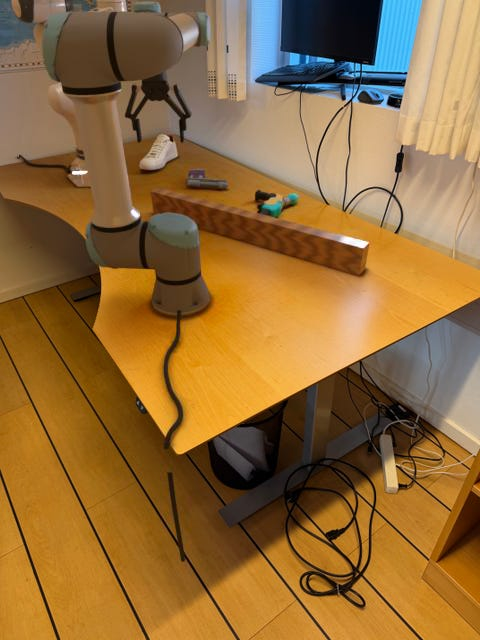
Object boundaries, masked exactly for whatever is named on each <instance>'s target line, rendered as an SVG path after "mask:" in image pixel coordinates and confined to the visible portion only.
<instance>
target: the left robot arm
mask: <svg viewBox="0 0 480 640" xmlns="http://www.w3.org/2000/svg"><path fill="white" fill-rule="evenodd" d="M95 1H96V7H94V8H92V9H90V10H88V11H87V12H120V11H126V12H128V7H127V0H95ZM10 3H11V7H12V8H11V9H12V11H13V13H14V15H15V17H16V18H17V19H18V20H19V22H22V23H26V24H32V23H36V24H35V25H34V27H33V32H32V33H33V37H34V40H35V43H36V46H37V48H38V49H39V53H40V54H41V56H42V57H43V53H42V37H43V31H44V27H45V24H46V22H47V20H48V18H49V17H50V16H51V15H53V14H56V13H63V12H71V11H75V7H74V1H73V0H10ZM46 99H47V102H48V105H49V106H50V108H51V109H52V110H53V111H54V112H55V113H57V114H59V115H60V116H62V117H63V118H64V119H65V120H66V121H67V122H68V124H69V126H70V127H71V130H72V133H73V136H74V140H75V144H76V147H75V156H76V157H75V158H74V159H73V161H72V162H71V163H70V164H69V165H68V166H67V165H64V164H47V163H46V164H45V163H44V164H43V163H33V162H30V161H29V160H28V159H26V158H25V157H24V156H23V155H22V154H18V155H19V157H18V155H17V157H16V158H17V159H20V158H21V160H23V161H24V162H25V163H26V164H27V165H29V166H32V167H47V168H64V169H65V171H66V172H67V173H68V175H67V178H68V179H69V180H70V182H72V183H73V184H74V185H75V186H76V187H78V188H84V187H88V188H91V186H90V181H89V177H88V172H87V167H86V162H85V157H84V153H83V148H82V143H81V138H80V133H79V128H78V124H77V119H76V114H75V109H74V104H73V102H72V100H71V99H69V98H68V97H67V96H66V95H64V94H63V90H62V85H61V82H57V83H53V84H51V85H49V87H48V89H47V92H46Z"/></svg>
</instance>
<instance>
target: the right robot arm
mask: <svg viewBox="0 0 480 640" xmlns="http://www.w3.org/2000/svg"><path fill="white" fill-rule="evenodd" d="M210 19H211V18H210V16H209V14H208V13H207V12H201V11H200V12H199V11H189V12H188V11H187V12H186V11H183V12H181V11H180V12H179V11H178V12H162V9H161V4H160V3H159V2H158V1H135V2H133V4H132V11H127V12H126V11H120V12H88V11H75V10H74V11H71V12H63V13H56V14H53V15H51V16H50V17H49V18H48V20H47V22H46V24H45V27H44V31H43V37H42V53H43V56H42V59H43V64H44V68H45V70H46V72H47V73H48V76H49V78H50V79H51V80H52V81H55V82H57V83H59V82H61V85H62V90H63V94H64V95H66V96H67V97H68V98H69V99H71V100H72V102H73V104H74V109H75V114H76V119H77V124H78V128H79V133H80V138H81V143H82V148H83V153H84V157H85V162H86V167H87V172H88V177H89V181H90V186H91V187H90V191H91V196H92V201H93V205H94V212H93V213H92V214H91V215H90V221H89V222H88V223H87V224H86V227H85V232H84V234H85V240H84V241H85V246H86V250H87V253H88V255H89V257H90V259H91V261H92V262H93V263H94V264H95V265H97V266H99V267H100V268H109V269H112V270H118V269H126V270H127V269H128V270H129V269H130V270H132V269H133V270H154V274H155V275H154V276H155V281H154V284H153V290H152V294H151V305H152V308H153V310H154V311H155V312H156V313H157V314H159V315H160V316H163V317H167V318H171V319H176V325H175V326H176V332H175V337H174V340H173V342H172V343H171V346H169V348H168V350H167V351H166V354H165V356H164V360H163V377H164V382H165V386H166V390H167V391H168V394H169V395H170V398H171V399H172V400H173V402H174V404H175V407H176V408H177V418H176V420H175V422H174V423H173V424H172V425H171V427H170V428H169V429H168V431H167V433H166V434H165V437H164V442H163V449H164V450H168V449H169V448H170V442H171V438H172V436H173V434H174V432H175V431H176V430H177V429H178V427H179V426H180V425H181V424H182V421H183V418H184V409H183V405H182V402H181V401H180V400H179V398H178V396H177V395H176V393H175V391H174V390H173V387H172V384H171V380H170V379H171V378H170V376H169V360H170V356H171V355H172V353H173V351H174V350H175V348H176V346H177V345H178V343H179V340H180V335H181V320H182V319H183V318H185V319H186V318H190V317H194V316H196V315H199V314H201V313H202V312H204V311H205V310H207V308H208V307H209V306H210V303H211V294H210V293H211V292H210V290H209V288H208V286H207V284H206V281H205V278H204V277H203V275H202V262H201V261H202V259H201V247H200V246H201V245H200V244H201V238H200V234H199V228H197V225H196V223H195V222H194V221H193V220H192V219H190V218H189V217H187V216H185V215H182V214H177V213H162V214H156V215H154V214H153V215H152V216H150V218H149V219H148V221H147V220H144V221H143V220H142V216H141V212H140V210H139V209H137V208H136V207H135V206H133V200H132V195H131V194H132V193H131V187H130V180H129V175H128V169H127V164H126V163H127V162H126V161H127V160H126V156H125V150H124V141H123V137H122V130H121V124H120V118H119V117H120V116H119V110H118V105H117V104H118V103H117V97H118V96H119V95H120V93H121V92H122V89H123V88H122V82H136V81H141V84H137V83H133V84H132V85H131V94H130V97H129V100H128V104H127V106H126V109H125V113H124V118H126V119H129V120H131V126H132V131H134V132H135V133H136V140H137V143H138V144H139V143H141V142H142V141H143V137H142V130H141V122H140V118H138V116H139V114H140V112H141V111H142V110H143V108H144V107H145V105H146V104H147V102H148V101H150V102H162V101H164V102H165V103H166V104H167V105H169V107H170V108H171V110H172V111H173V112H174V113H175V114H176V115H177V116H178V117H179V120H178V127H179V141H180V143H181V144H183V143H184V142H185V132H186V131H187V129H188V127H187V119H191V116H192V115H193V114H192V112H191V110H190V107H189V106H188V104H187V102H186V100H185V98H184V97H183V94H182V93H181V90H180V89H181V88H180V85H179V83H175V84H169V82H168V81H169V80H168V70H170V69H172V68H173V67H175V66H176V65H177V64H178V63H179V62H180V60H181V58H182V56H183V53H185V52H186V51H188V50H189V49H190V48H193V47H197V48H200V47H207V46H209V45H210V42H211V20H210ZM140 90H141V91H142V93H143V94H144V96H143V98H142V99H141V100H140V102H139V104H138V106H137V107H136V108H135V110H134V111H133V108H134V106H135V102H136V100H137V96H138V93H140ZM170 90H171V92H172V93H173V94H174V95H175V98H176V99H177V101H178V103H179V105H180V106H178V105H177V103H176V102H175V101H174V100H173V98H172V97H171V95H170V94H169V92H170ZM180 107H181V108H180ZM132 111H133V113H132ZM166 473H167V482H168V491H169V497H170V503H171V504H170V505H171V510H172V516H173V523H174V527H175V534H176V538H177V544H178V550H179V557H180V561H181V562H182V563H183V562H185V561H186V556H185V549H184V544H183V543H184V542H183V537H182V530H181V525H180V520H179V514H178V506H177V498H176V491H175V483H174V475H173V472H169V471H168V472H167V471H166Z"/></svg>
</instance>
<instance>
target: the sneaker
mask: <svg viewBox="0 0 480 640" xmlns="http://www.w3.org/2000/svg"><path fill="white" fill-rule="evenodd" d="M178 156H179V155H178V149H177V144H176V140H175V136H174V135H173V134H164V133H161V134H158V135H157V137H156V139H155V140H154V142H153V143H152V146H151V148H150V150H149V151H148V153H147V154H146V155H145V156H144V157H143V158H142V159H141V160H140V162H139V169H141V170H144V171H156V170H160V169H162V168H164V167H165V166H166V164H167V163H168V162H170V161H172V160H175V159H176V158H177V157H178Z"/></svg>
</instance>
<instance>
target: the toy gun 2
mask: <svg viewBox="0 0 480 640" xmlns="http://www.w3.org/2000/svg"><path fill="white" fill-rule="evenodd" d="M254 200H255V202H259V201H260V202H259V203H258V204H257V205H256V208H257V211H256V213H259V214H263V215H266V216H270V217H274V218H277V217H279V216H280V215H281V214H282V209H283V208H284V207H286V206H289V205H294V204H296V203H297V201H299V195H298V194H297V193H289V194H287V196H285V197H284V195H282V194H280V193H274V192H271V193H269V192H266V191H262V190H261V189H257V190H256V191H255V193H254Z"/></svg>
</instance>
